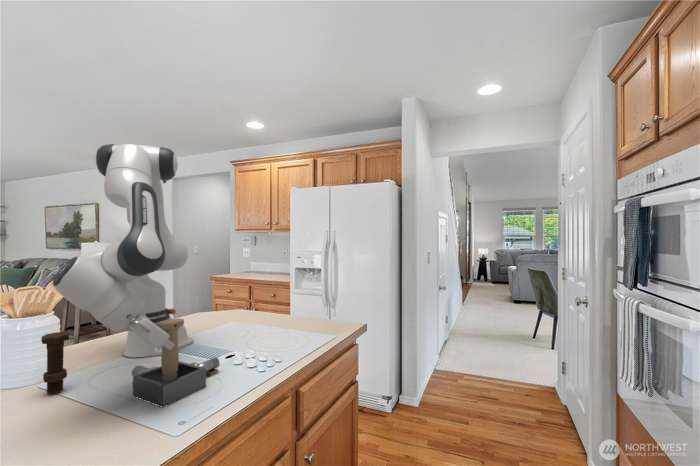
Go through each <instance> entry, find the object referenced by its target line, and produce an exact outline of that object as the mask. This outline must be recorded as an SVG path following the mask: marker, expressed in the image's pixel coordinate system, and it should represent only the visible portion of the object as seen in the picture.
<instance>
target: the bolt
mask: <svg viewBox="0 0 700 466" xmlns="http://www.w3.org/2000/svg"><path fill="white" fill-rule="evenodd" d="M68 340H70V334H69V332H67V331H59V332H58V331H57V332H51V333H46V334H44V335H42V336H41V343H42V345H46V372H44V373H43V374H42V375H43V376H42V377H43V378H42V379H43V382H44V383H46V394H47V395H50V396H52V395H58V394H60V393H61V392H62V391H63V390H64V380H65V379H66V377H67V376H68V371H67V368H64V346H65V341H68Z"/></svg>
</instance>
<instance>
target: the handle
mask: <svg viewBox="0 0 700 466" xmlns="http://www.w3.org/2000/svg"><path fill="white" fill-rule="evenodd" d="M156 325H157V326H158V327H160V328H161V329H162V330H164V331H165V332H166V333H168V334H169V336H170V337H169V340H170V341H172V342H173V343H174V344H175V345H174V347H173V348H172V349H171V350H168V349H167V348H166V347H164V346H162V355H161V361H160V363H161V364H160V365H161V366H162V374H163V376H162V378H163V381H166V382H167V381H172V380H174V379H176V378H177V373H176V372H177V371H178V363H179V361H180V360H179V358H180V355H179V354H180V353H179V349H178V329H179V328H180V327H181V326H182V325H184V326H185V319H184V318H172V319H169V320H164V321H160V322H157V323H156ZM161 366H160V367H161Z"/></svg>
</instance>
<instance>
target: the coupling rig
mask: <svg viewBox="0 0 700 466" xmlns="http://www.w3.org/2000/svg"><path fill="white" fill-rule="evenodd" d="M219 367H220V359H219V358H218V357H213V358H210V359H208V360H205V361H203V362H201V363H197V362H192V363H191V362H190V363H187V362H182V361H180V360H179V363H178V371H177V372H176V373H177V378H176V379H174V380H172V381H167V382H166V381H163V378H162V376H163V374H162V366H153V367H150V368H149V367H145V366H144V365H135V366H134V368H132V370H131V376H132V397H133V396H135V397H134V398H136V397H138V398H141V399H143V400H142V401H144V400H146V401H149V402H151V403H150V404H152V403H154V404H157V405H159V406H158V407H160V406H162V407H163V408H165V407H167V406H170V405H171V403H172V404H174V403H176V402H177V401H179V400H182V399H184V398H186V397H188V396H190V395H192V394H194V393H197V392H198V391H200V390H203V389H206V387H207V376H208V377H213V376H215V375H217V374H218V368H219ZM138 398H137V399H138ZM141 399H140V400H141ZM146 401H145V402H146ZM149 402H148V403H149ZM173 402H174V403H173ZM154 404H153V405H154ZM157 405H156V406H157ZM166 405H167V406H166ZM164 406H165V407H164ZM162 407H161V408H162Z"/></svg>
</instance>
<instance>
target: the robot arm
mask: <svg viewBox="0 0 700 466" xmlns="http://www.w3.org/2000/svg"><path fill="white" fill-rule="evenodd" d="M95 165H96V167H97V170H98V172H99V173H100V174H101V175H102V176H104V185H103V187H104V188H103V189H104V195H105V197H106V198H107V199H108V200H109V202H111V203H112V204H114V205H116V206H117V207H120V208H123V209H126V221H127V223H128V224H129V230H128V232H127V234H126V235H125V237H123V238H122V239H121V240H120V241H115V242H111V243H110V244H109V245H108V246H107V247H106V248H105V249H104V250H102V251H98V252H97V253H94V254H93V253H92V254H89V255H84V256H83V255H82V256H74V257H72V258H71V259H69V260H68V261H67V262H65V264H64V265H63V266H61V267H60V269H59V270H58V271H57V272H56V274H55V275H54V277H53V280H52V285H53V287H54V289H55V290H56V292H57V293H59V294H60V295H61V296H62V297H63V298H64V299H66V301H68V302H70V304H73V306H75V307H77V308H78V309H80V310H81V311H85V312H88V313H89V314H91V315H92V316H93V318H94V320H95V321H97V322H99V323H100V324H102V325H103V326H104V327H106V328H107V329H110V330H111V331H112V332H114V333H118V332H121V331H123V332H125V333H127V336H126V341H125V346H124V349H123V352H122V355H123V356H125V357H127V358H145V357H152V356H153V357H154V356H156V357H157V356H162V346H164V347H166V348H167V349H168V350H171V349H172V348H173V347H174V345H175V344H174V343H173V342H172V341H170V340H169V337H170V336H169V334H168V333H166V332H165V331H164V330H162V329H161V328H160V327H158V326H157V325H156V323H157V322H160V321H164V320H169V319H173V318H172V317H171V315H175V314H176V313H177V310H176V309H175V308H167V307H166V289H165V285H163V284H162V283H160V282H158V281H156V280H154V279H151V277H150V276H149V274H151V273H154V272H161V271H162V272H163V271H164V272H165V271H167V272H168V271H172V270H177V269H181V268H183V267H184V266H185V264H186V263H187V261H188V257H189V251H188V249H187V248H188V247H187V246H186V245H185V244H184V243H183V241H180V240H179V239H177V238H176V237H175V236H174V234H172V232H171V231H170V230H169V227H168V225H167V222H166V217H165V204H164V192H163V191H164V190H163V186H162V183H163V184H166V183H167V181H170V180H172V179H173V178H174V177H175V176H176V173H177V172H178V167H179V163H178V159H177V156H176V155H175V152H174V151H173V150H172V149H170V148H168V147H163V146H160V147H157V146H152V145H144V144H134V143H122V144H113V143H112V144H111V143H110V144H103V145H101V146H100V147H98V149H97V151H96V154H95ZM194 340H195V339H194V338H193V337H191V336H188V332H187V328H186V327H185V324H184V325H182V326H181V327H180V328H179V329H178V350H179V349H181V348H183V347H184V348H185V346H189V345H190V344H192V343H193V344H194V343H195V341H194Z"/></svg>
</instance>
